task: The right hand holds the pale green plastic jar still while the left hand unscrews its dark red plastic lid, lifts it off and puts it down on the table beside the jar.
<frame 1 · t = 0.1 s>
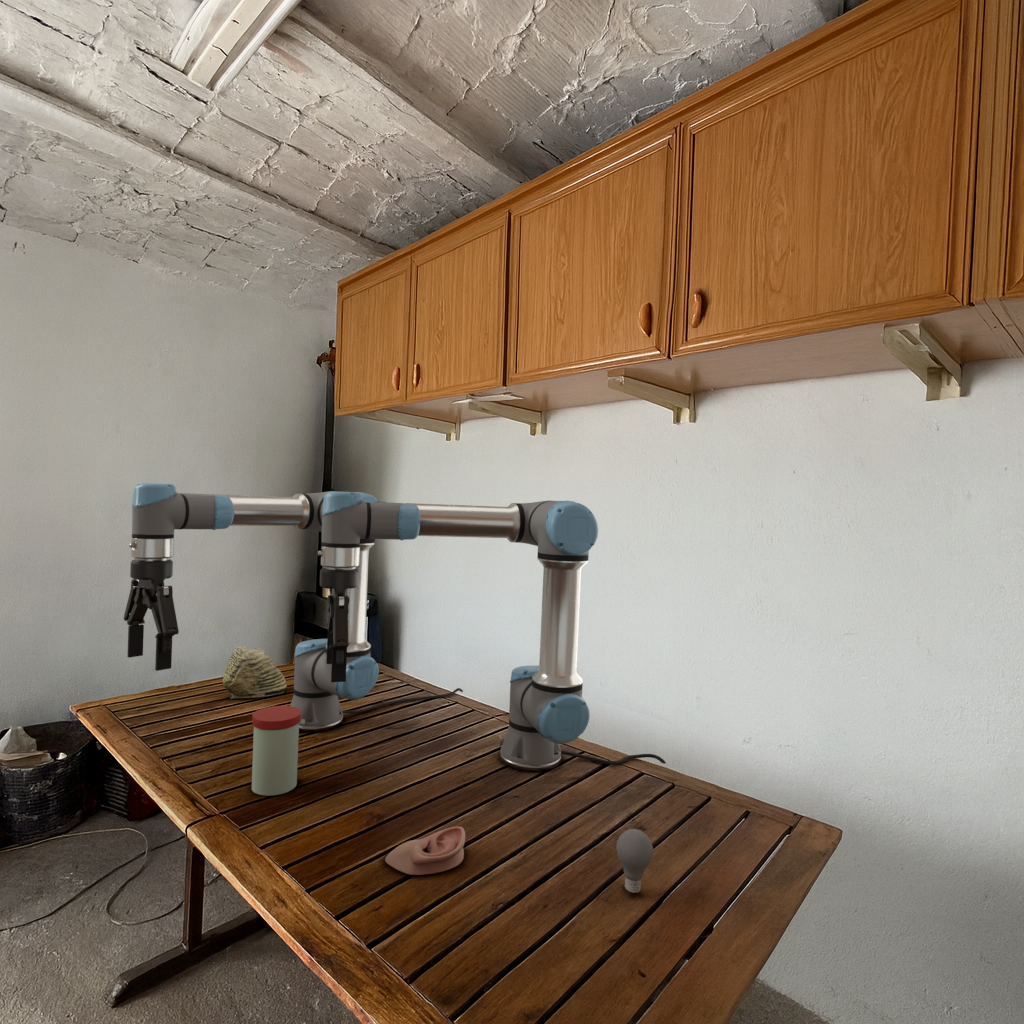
left hand: (148, 662, 129), 28 cm above the table, tool pointing down, fingers open, 13 cm apart
right hand: (335, 672, 128), 28 cm above the table, tool pointing down, fingers open, 13 cm apart
light bulb: (632, 891, 106), on the table
fossil: (254, 694, 198), on the table
jar: (274, 785, 138), on the table
lid: (277, 714, 138), point 16 cm above the table, screwed on, not yet turned
anatomical model: (425, 858, 113), on the table
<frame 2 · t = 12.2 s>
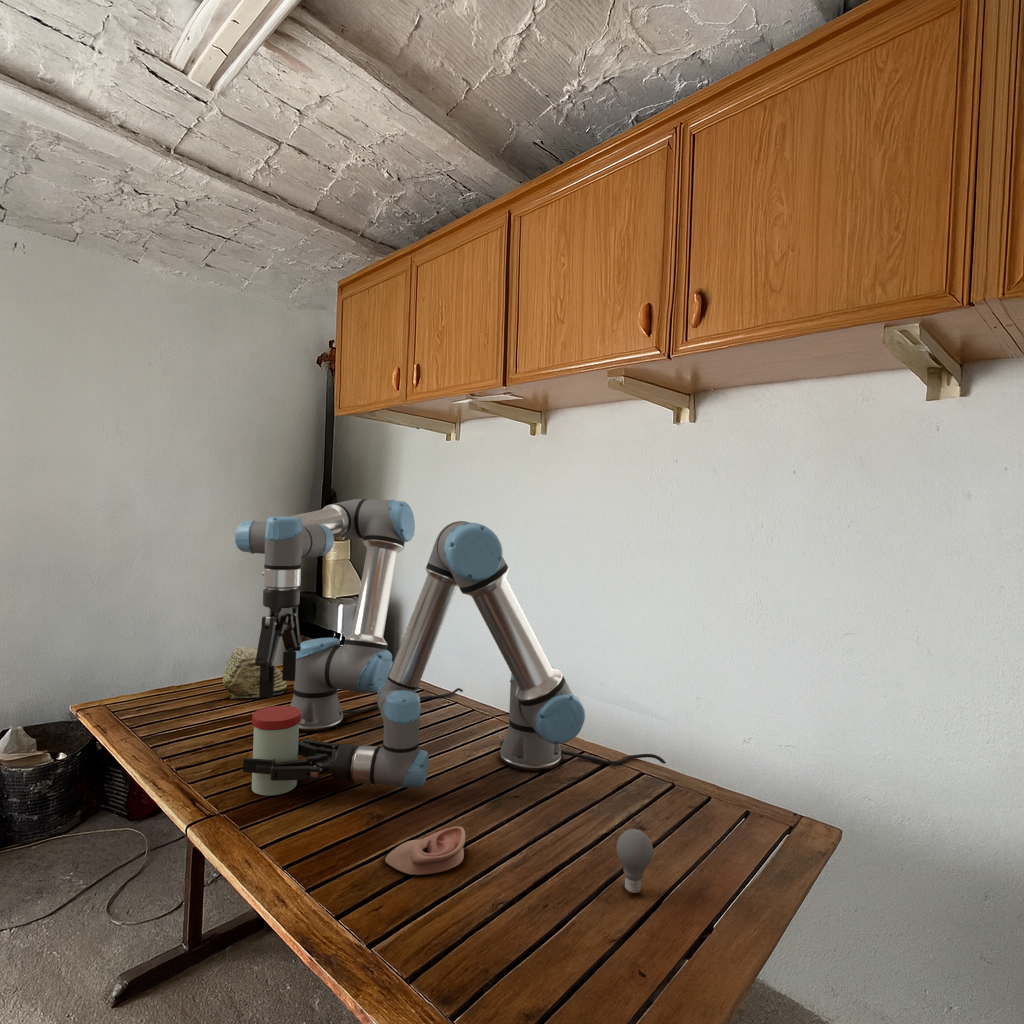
left hand: (278, 688, 137), 21 cm above the table, tool pointing down, fingers open, 11 cm apart
right hand: (255, 755, 138), 6 cm above the table, tool horizontal, fingers closed on jar, 9 cm apart
jar: (274, 785, 138), on the table, touching right hand
everything else where it was.
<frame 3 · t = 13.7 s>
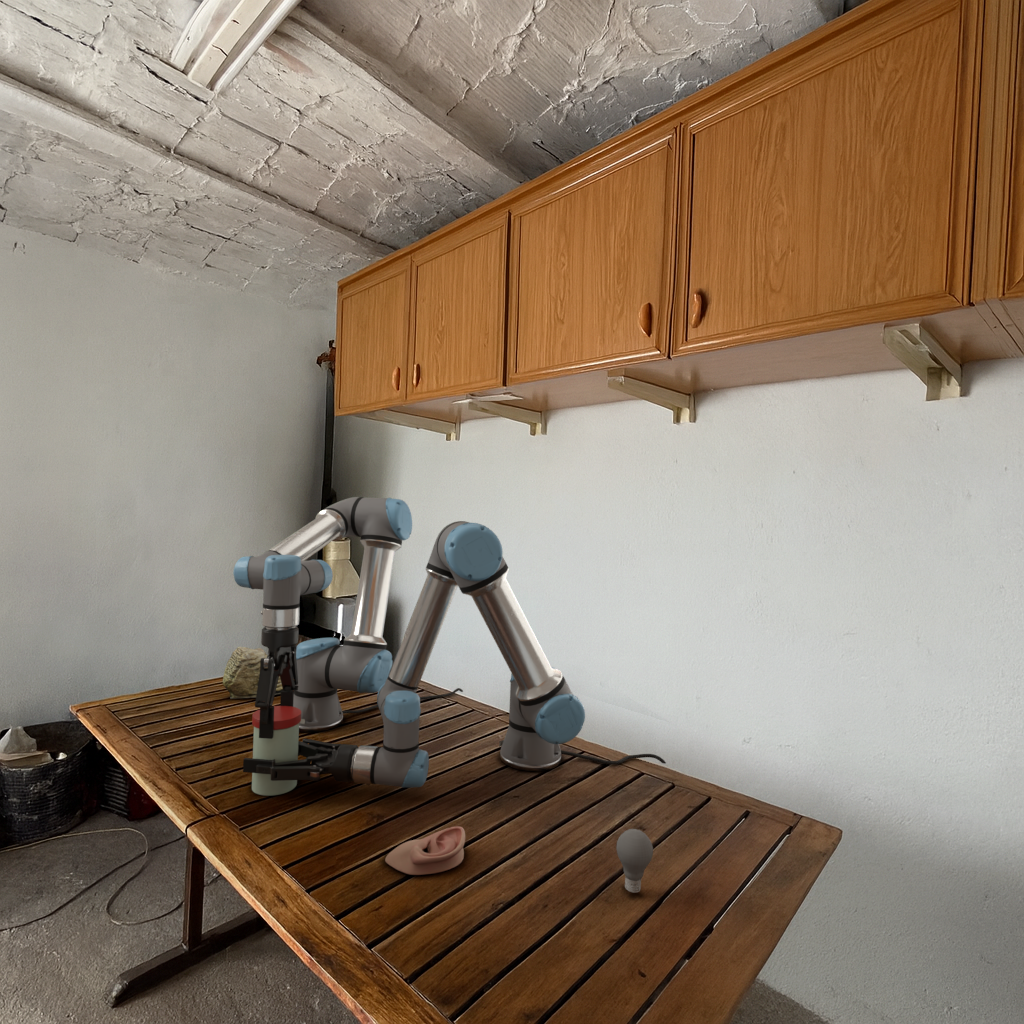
left hand: (276, 728, 138), 13 cm above the table, tool pointing down, fingers closed on lid, 10 cm apart
right hand: (255, 755, 138), 6 cm above the table, tool horizontal, fingers closed on jar, 9 cm apart
jar: (274, 785, 138), on the table, touching right hand
lid: (277, 714, 138), point 16 cm above the table, screwed on, not yet turned, touching left hand
everything else where it was.
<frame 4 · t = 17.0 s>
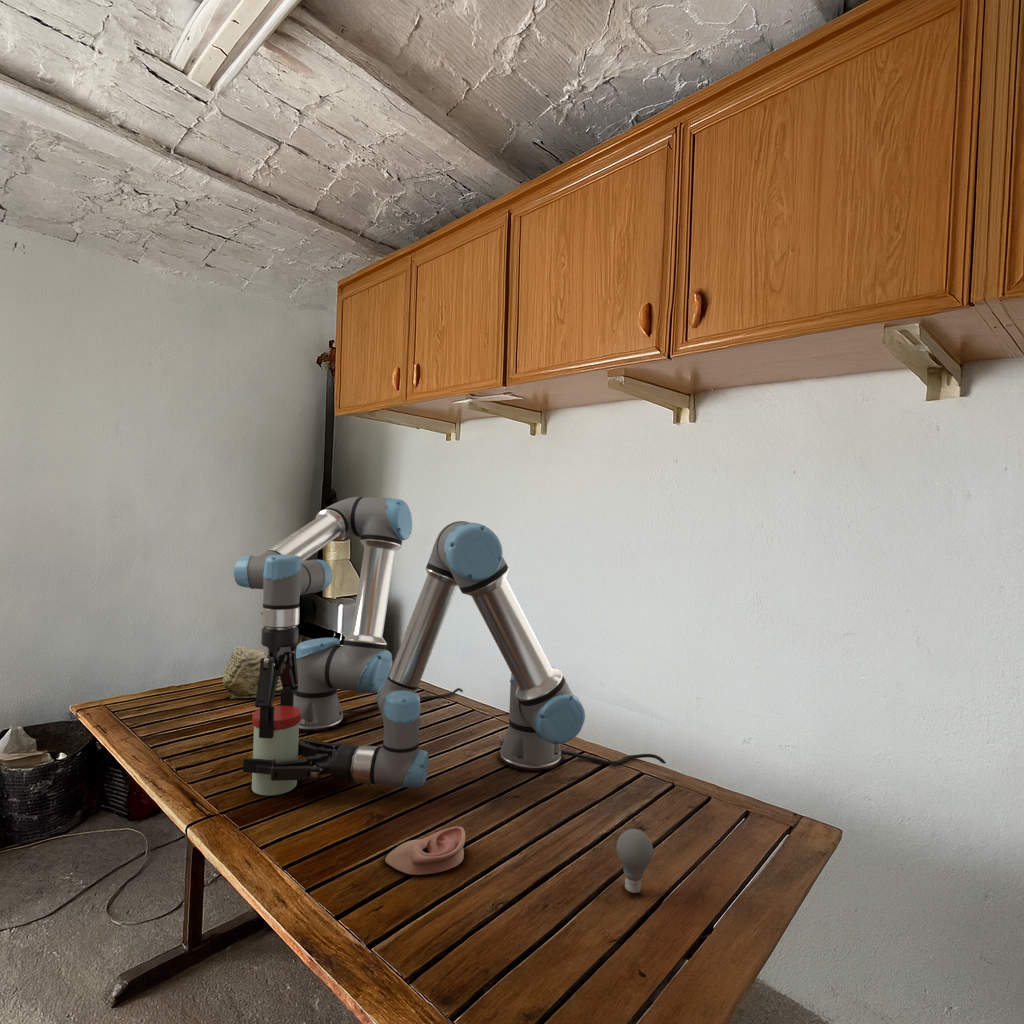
left hand: (276, 728, 138), 13 cm above the table, tool pointing down, fingers closed on lid, 10 cm apart
right hand: (255, 755, 138), 6 cm above the table, tool horizontal, fingers closed on jar, 9 cm apart
jar: (274, 785, 138), on the table, touching right hand
lid: (277, 714, 138), point 16 cm above the table, turned 86° so far, risen 0.1 cm, still on its thread, touching left hand
everything else where it was.
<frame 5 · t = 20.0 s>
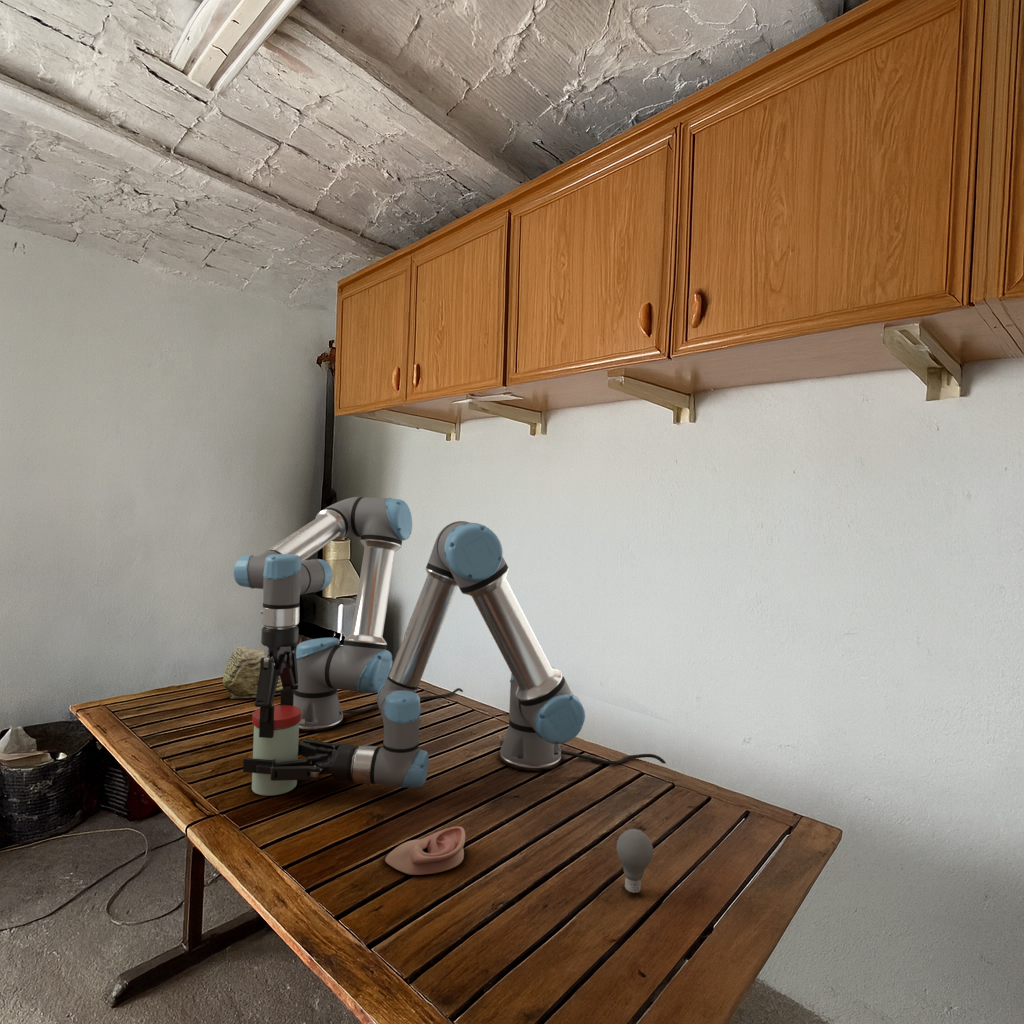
left hand: (276, 727, 138), 13 cm above the table, tool pointing down, fingers closed on lid, 10 cm apart
right hand: (255, 755, 138), 6 cm above the table, tool horizontal, fingers closed on jar, 9 cm apart
jar: (274, 785, 138), on the table, touching right hand
lid: (277, 713, 138), point 16 cm above the table, turned 172° so far, risen 0.2 cm, still on its thread, touching left hand
everything else where it was.
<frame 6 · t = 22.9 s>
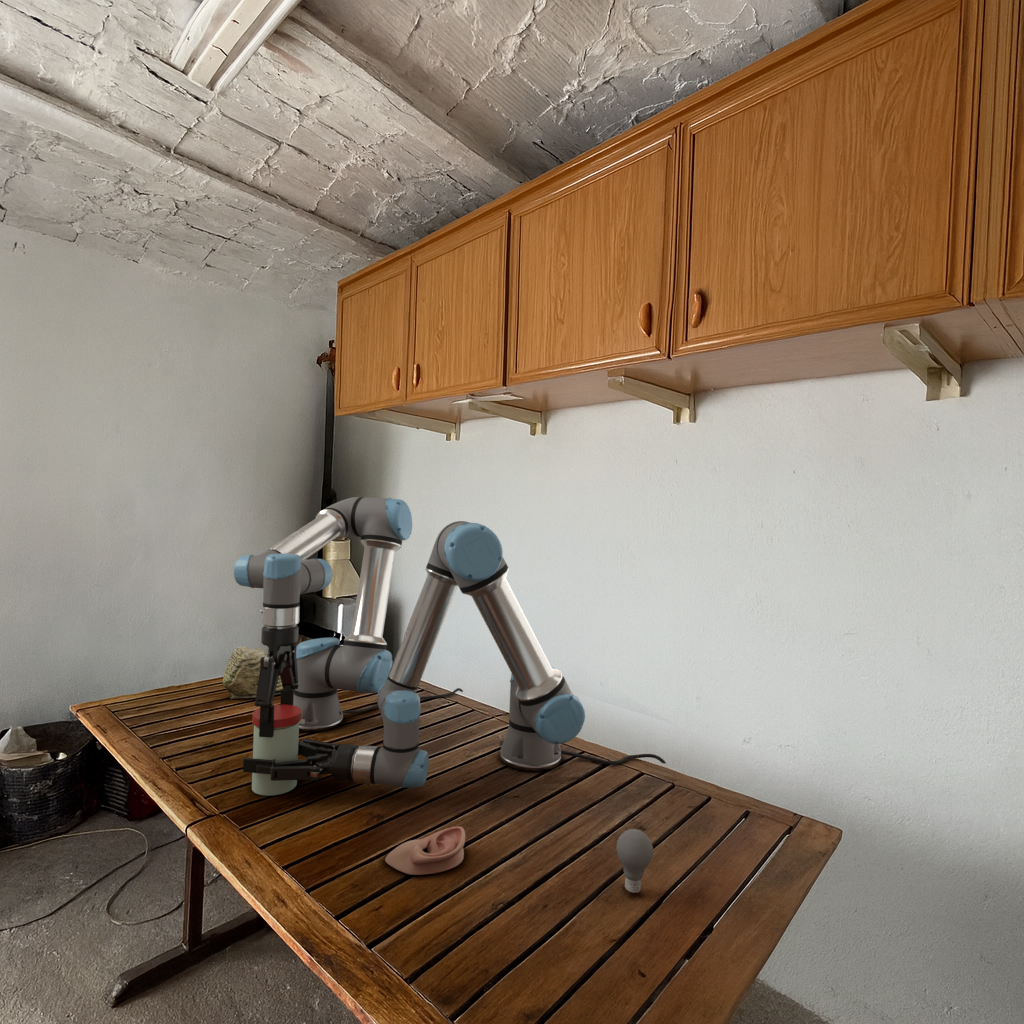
left hand: (276, 727, 138), 13 cm above the table, tool pointing down, fingers closed on lid, 10 cm apart
right hand: (255, 755, 138), 6 cm above the table, tool horizontal, fingers closed on jar, 9 cm apart
jar: (274, 785, 138), on the table, touching right hand
lid: (277, 713, 138), point 16 cm above the table, turned 258° so far, risen 0.3 cm, still on its thread, touching left hand
everything else where it was.
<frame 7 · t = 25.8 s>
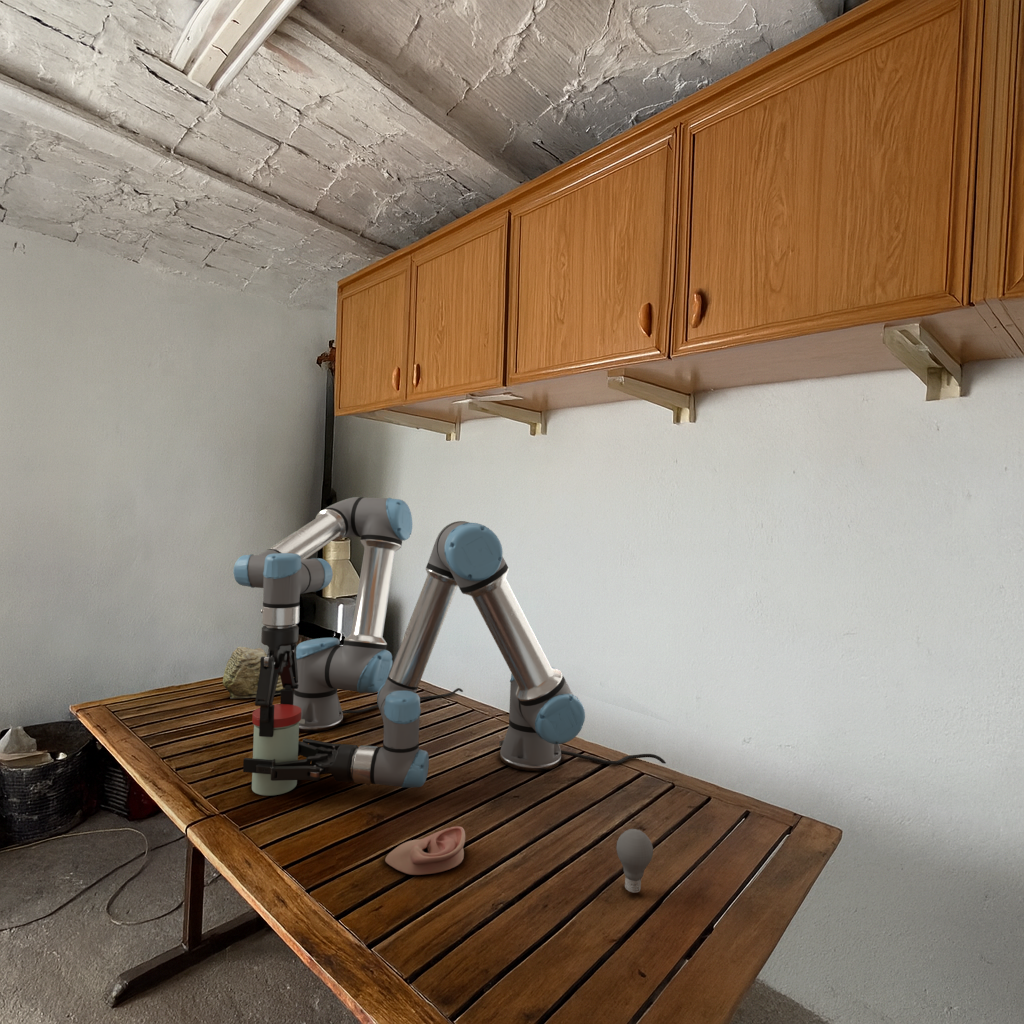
left hand: (276, 727, 138), 13 cm above the table, tool pointing down, fingers closed on lid, 10 cm apart
right hand: (255, 755, 138), 6 cm above the table, tool horizontal, fingers closed on jar, 9 cm apart
jar: (274, 785, 138), on the table, touching right hand
lid: (277, 713, 138), point 16 cm above the table, turned 344° so far, risen 0.4 cm, still on its thread, touching left hand
everything else where it was.
when the left hand's fingers open (0 cm above the table, at t = 36.4 s): lid drops 2 cm, point 1 cm above the table.
when the right hand's fingers open (6 cm above the table, at t = 37.4 s): jar stays where it is, on the table.
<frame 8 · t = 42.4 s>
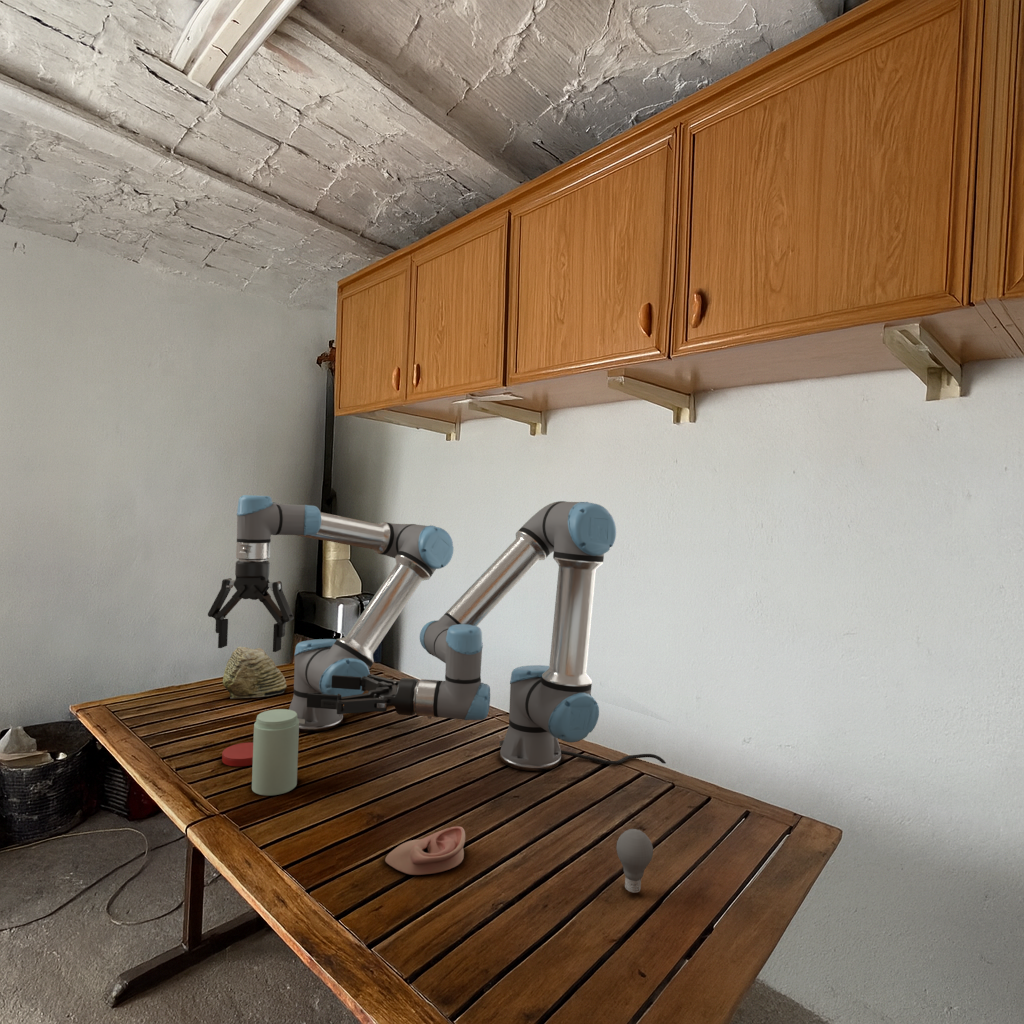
left hand: (249, 648, 151), 26 cm above the table, tool pointing down, fingers open, 13 cm apart
right hand: (320, 690, 137), 22 cm above the table, tool horizontal, fingers open, 13 cm apart
jar: (274, 785, 138), on the table
lid: (245, 751, 151), point 1 cm above the table, off its thread
everything else where it was.
at the end: lid came off its thread; lid point 1.5 cm above the table; the left hand is holding nothing; the right hand is holding nothing; jar tilted 0°; jar moved 0.0 cm from its start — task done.
